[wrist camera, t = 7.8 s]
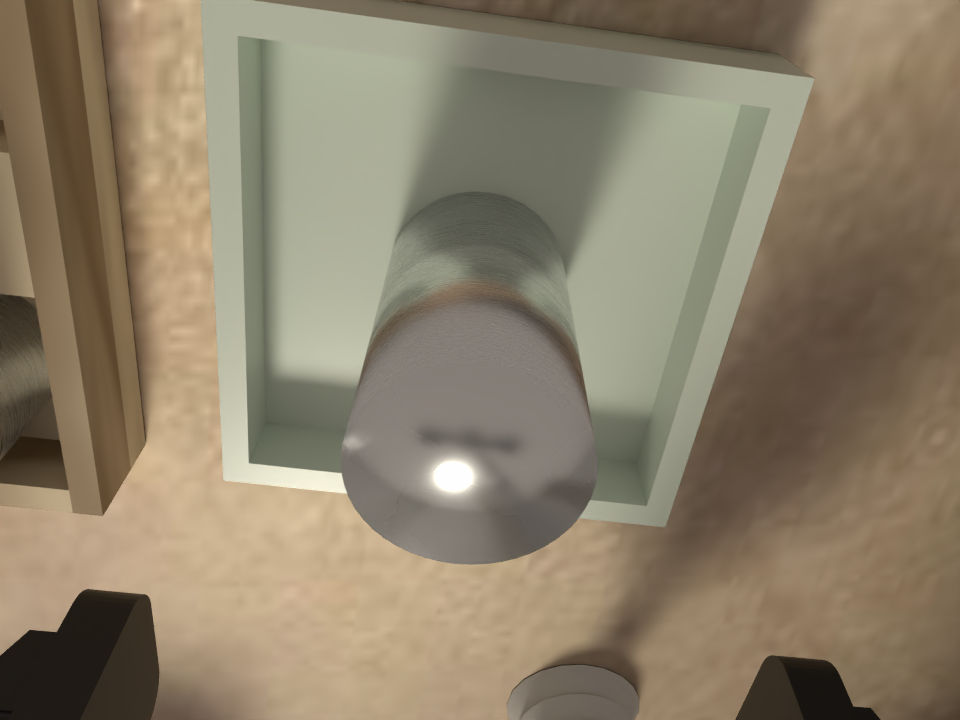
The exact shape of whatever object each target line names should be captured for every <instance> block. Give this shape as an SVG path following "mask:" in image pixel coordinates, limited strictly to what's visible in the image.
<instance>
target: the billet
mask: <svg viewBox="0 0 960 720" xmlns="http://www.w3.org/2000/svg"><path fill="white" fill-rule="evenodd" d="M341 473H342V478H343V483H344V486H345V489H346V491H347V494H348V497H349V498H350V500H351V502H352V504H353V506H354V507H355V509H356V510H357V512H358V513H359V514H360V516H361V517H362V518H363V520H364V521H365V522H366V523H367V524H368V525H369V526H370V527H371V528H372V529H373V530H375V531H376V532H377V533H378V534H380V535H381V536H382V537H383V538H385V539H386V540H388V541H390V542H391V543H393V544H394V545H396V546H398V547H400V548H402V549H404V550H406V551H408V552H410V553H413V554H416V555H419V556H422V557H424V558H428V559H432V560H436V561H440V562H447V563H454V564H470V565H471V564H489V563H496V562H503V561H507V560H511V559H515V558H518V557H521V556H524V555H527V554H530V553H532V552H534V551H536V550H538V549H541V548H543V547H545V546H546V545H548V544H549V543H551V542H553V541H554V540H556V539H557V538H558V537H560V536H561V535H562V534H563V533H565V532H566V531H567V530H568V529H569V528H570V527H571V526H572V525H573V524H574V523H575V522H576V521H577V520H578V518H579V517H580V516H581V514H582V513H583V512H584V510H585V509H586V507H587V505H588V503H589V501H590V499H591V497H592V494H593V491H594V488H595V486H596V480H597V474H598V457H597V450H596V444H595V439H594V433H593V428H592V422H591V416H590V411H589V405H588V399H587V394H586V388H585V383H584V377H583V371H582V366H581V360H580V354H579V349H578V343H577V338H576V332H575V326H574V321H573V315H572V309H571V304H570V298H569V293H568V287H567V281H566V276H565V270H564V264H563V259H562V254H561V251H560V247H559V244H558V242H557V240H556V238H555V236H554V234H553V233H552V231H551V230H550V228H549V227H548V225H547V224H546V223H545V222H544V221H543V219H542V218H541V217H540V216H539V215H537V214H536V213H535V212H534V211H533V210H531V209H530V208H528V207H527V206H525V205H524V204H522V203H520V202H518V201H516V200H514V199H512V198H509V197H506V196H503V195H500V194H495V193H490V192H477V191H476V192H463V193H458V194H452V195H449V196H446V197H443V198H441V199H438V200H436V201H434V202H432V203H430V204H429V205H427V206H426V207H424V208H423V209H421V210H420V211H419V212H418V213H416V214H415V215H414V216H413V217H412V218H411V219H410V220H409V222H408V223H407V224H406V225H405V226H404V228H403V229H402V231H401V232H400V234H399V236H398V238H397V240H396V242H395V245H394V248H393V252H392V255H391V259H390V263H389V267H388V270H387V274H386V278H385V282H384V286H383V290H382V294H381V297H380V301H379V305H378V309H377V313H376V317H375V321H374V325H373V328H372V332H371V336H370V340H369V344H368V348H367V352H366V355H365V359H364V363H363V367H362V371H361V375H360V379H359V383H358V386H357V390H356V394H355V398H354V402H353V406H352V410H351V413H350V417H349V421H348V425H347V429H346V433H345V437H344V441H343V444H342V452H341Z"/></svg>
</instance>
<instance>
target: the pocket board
mask: <svg viewBox="0 0 960 720" xmlns="http://www.w3.org/2000/svg"><path fill="white" fill-rule="evenodd" d="M0 294H6V295H14V296H21V297H23V298H24V299H25V300H27V301H28V302H29V303H30V304H31V305H32V306H33V307H35V308H36V309H37V313H38V319H39V325H40V330H41V336H42V342H43V347H44V353H45V358H46V364H47V370H48V375H49V381H50V387H51V392H52V398H51V399H50V400H49V402H48V403H47V404H46V405H45V406H44V408H43V409H42V410H41V411H40V413H39V414H38V415H37V416H36V417H35V419H34V420H33V421H32V422H31V424H30V425H29V426H28V427H27V428H26V430H25V431H24V432H23V433H22V435H21V436H20V437H19V438H18V439H17V441H16V442H15V443H14V444H13V446H12V447H11V448H10V449H9V450H8V452H7V453H6V454H5V455H4V457H3V458H2V459H1V460H0V505H1V506H11V507H21V508H30V509H40V510H50V511H59V512H69V513H79V514H89V515H98V516H103V515H104V513H105V512H106V510H107V508H108V507H109V505H110V503H111V502H112V500H113V498H114V496H115V495H116V493H117V491H118V490H119V488H120V486H121V485H122V483H123V481H124V480H125V478H126V476H127V475H128V473H129V471H130V470H131V468H132V466H133V465H134V463H135V461H136V460H137V458H138V456H139V455H140V453H141V451H142V450H143V448H144V446H145V445H146V443H145V433H144V424H143V415H142V406H141V397H140V387H139V378H138V369H137V360H136V351H135V342H134V332H133V323H132V314H131V305H130V296H129V286H128V277H127V268H126V259H125V250H124V241H123V231H122V222H121V213H120V204H119V195H118V185H117V176H116V167H115V158H114V149H113V139H112V130H111V121H110V112H109V103H108V94H107V84H106V75H105V66H104V57H103V48H102V38H101V29H100V20H99V11H98V2H97V0H0Z"/></svg>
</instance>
